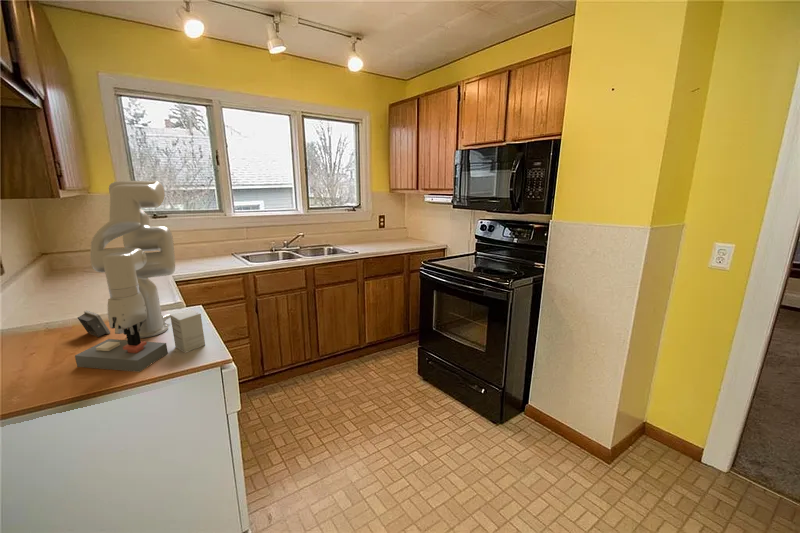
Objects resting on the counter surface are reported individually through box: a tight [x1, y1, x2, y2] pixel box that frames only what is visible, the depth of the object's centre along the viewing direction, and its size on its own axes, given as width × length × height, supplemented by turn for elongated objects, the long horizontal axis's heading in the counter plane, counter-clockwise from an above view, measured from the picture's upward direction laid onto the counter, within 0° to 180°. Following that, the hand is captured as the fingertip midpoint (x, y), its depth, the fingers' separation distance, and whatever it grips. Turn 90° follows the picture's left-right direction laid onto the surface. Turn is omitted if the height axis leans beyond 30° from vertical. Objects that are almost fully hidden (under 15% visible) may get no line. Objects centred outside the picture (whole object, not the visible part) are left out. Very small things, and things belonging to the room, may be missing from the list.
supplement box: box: [170, 308, 206, 353], centre depth 126 cm, size 7×7×13 cm
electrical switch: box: [77, 310, 111, 338], centre depth 135 cm, size 9×5×9 cm, turn 65°
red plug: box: [123, 340, 147, 353], centre depth 116 cm, size 4×4×4 cm
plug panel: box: [74, 338, 169, 373], centre depth 118 cm, size 12×22×4 cm, turn 84°
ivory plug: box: [96, 341, 120, 351], centre depth 118 cm, size 4×4×4 cm
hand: (134, 344), depth 116 cm, fingers closed
